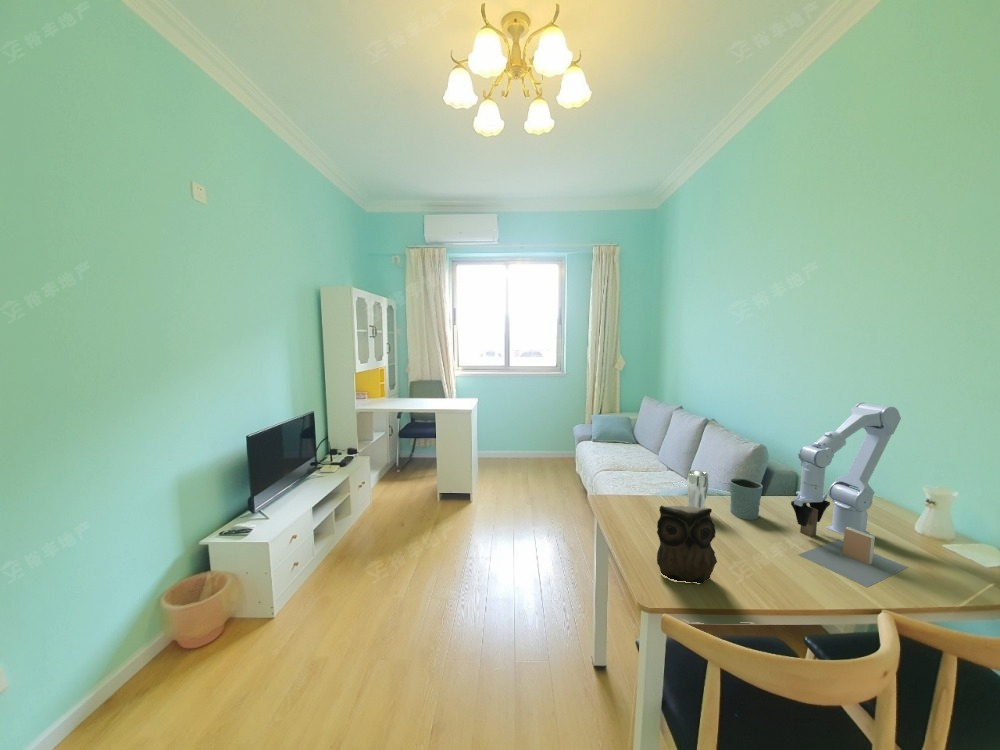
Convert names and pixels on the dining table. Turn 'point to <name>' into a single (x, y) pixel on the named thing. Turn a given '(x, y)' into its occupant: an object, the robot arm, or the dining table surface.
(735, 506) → the blue-grey cup
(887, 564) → the mat
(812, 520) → the block
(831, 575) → the dining table surface
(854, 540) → the tile
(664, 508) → the owl
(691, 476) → the silver upright cylinder
